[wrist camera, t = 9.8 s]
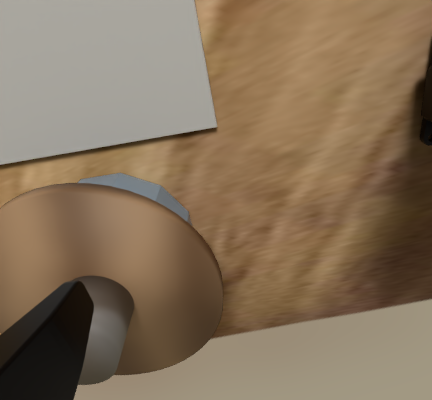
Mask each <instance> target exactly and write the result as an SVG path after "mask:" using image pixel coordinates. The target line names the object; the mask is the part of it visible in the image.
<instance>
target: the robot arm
mask: <svg viewBox="0 0 432 400" xmlns="http://www.w3.org/2000/svg"><path fill="white" fill-rule="evenodd" d="M421 115H422V116H423V120H422V127H421V134H420V140H421V141H422V142H423V143H424V144H426V145H432V138H430V139H428V137H429V136H430V135H431V134H432V58H431V65H430V68H429V69H428V71H427V76H426V83H425V90H424V97H423V104H422V111H421ZM93 312H94V303H93V300H92V298H91V296H90V295H89V293H88V291H87V289H86V287H85V285H84V283H83V282H82V281H80V280H76V281H68V282H65V283H63V284H62V285H60V286H59V287H58V288H57V289H56V290H54V291H53V292H52V293H51V294H49V295H48V296H47V297H46V298H45V299H43V300H42V301H41V302H40V303H39V304H37V305H36V306H35V307H34V308H32V309H31V310H30V311H29V312H28V313H26V314H25V315H24V316H23V317H22V318H20V319H19V320H18V321H17V322H15V323H14V324H13V325H12V326H11V327H9V328H8V329H7V330H6V331H4V332H3V333H2V334H1V335H0V400H73V399H74V396H75V392H76V389H77V385H78V382H79V379H80V375H81V372H82V368H83V364H84V359H85V354H86V349H87V344H88V339H89V333H90V328H91V323H92V318H93Z"/></svg>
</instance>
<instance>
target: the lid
mask: <svg viewBox="0 0 432 400" xmlns="http://www.w3.org/2000/svg"><path fill="white" fill-rule="evenodd" d="M76 280H80V281H82V282H83V283H84V285H85V287H86V289H87V291H88V293H89V295H90V296H91V298H92V300H93V303H94V312H93V318H92V323H91V328H90V333H89V339H88V344H87V349H86V354H85V359H84V364H83V368H82V372H81V375H80V379H79V382H78V385H89V384H96V383H100V382H103V381H105V380H107V379H109V378H110V377H111V376H113V375H132V374H141V373H148V372H152V371H157V370H161V369H164V368H167V367H170V366H173V365H175V364H177V363H179V362H181V361H183V360H185V359H187V358H188V357H190V356H191V355H193V354H195V353H196V352H197V351H198V350H200V349H201V348H202V347H203V346H204V345H205V344H206V343H207V342H208V341H209V340H210V338H211V337H212V335H213V334H214V332H215V331H216V329H217V326H218V324H219V322H220V319H221V314H222V310H223V282H222V276H221V271H220V268H219V265H218V262H217V260H216V258H215V256H214V254H213V252H212V250H211V248H210V247H209V245H208V244H207V243H206V241H205V240H204V239H203V237H202V236H201V235H200V234H199V233H198V232H197V231H196V230H195V229H194V228H193V227H192V226H191V225H190V224H189V223H188V222H187V221H185V220H184V219H183V218H182V217H180V216H179V215H178V214H176V213H175V212H173V211H172V210H170V209H169V208H167V207H165V206H164V205H162V204H160V203H158V202H156V201H154V200H152V199H150V198H148V197H145V196H143V195H140V194H137V193H134V192H131V191H129V190H125V189H121V188H116V187H112V186H107V185H100V184H92V183H65V184H56V185H49V186H45V187H41V188H37V189H34V190H31V191H29V192H26V193H23V194H21V195H19V196H17V197H15V198H14V199H12V200H10V201H9V202H7V203H5V204H4V205H3V206H2V207H1V208H0V333H1V334H2V333H3V332H4V331H6V330H7V329H8V328H9V327H11V326H12V325H13V324H14V323H15V322H17V321H18V320H19V319H20V318H22V317H23V316H24V315H25V314H26V313H28V312H29V311H30V310H31V309H32V308H34V307H35V306H36V305H37V304H39V303H40V302H41V301H42V300H43V299H45V298H46V297H47V296H48V295H49V294H51V293H52V292H53V291H54V290H56V289H57V288H58V287H59V286H60V285H62V284H63V283H65V282H68V281H76Z"/></svg>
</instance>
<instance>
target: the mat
mask: <svg viewBox="0 0 432 400" xmlns="http://www.w3.org/2000/svg"><path fill="white" fill-rule="evenodd" d="M214 127H217V122H216V116H215V111H214V105H213V100H212V94H211V89H210V83H209V78H208V72H207V67H206V61H205V56H204V50H203V45H202V39H201V34H200V28H199V23H198V17H197V12H196V6H195V1H194V0H0V165H2V164H8V163H13V162H19V161H25V160H30V159H36V158H42V157H48V156H53V155H59V154H65V153H71V152H76V151H82V150H88V149H94V148H99V147H105V146H111V145H117V144H122V143H128V142H134V141H140V140H145V139H151V138H157V137H163V136H168V135H174V134H180V133H186V132H191V131H197V130H203V129H209V128H214Z"/></svg>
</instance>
